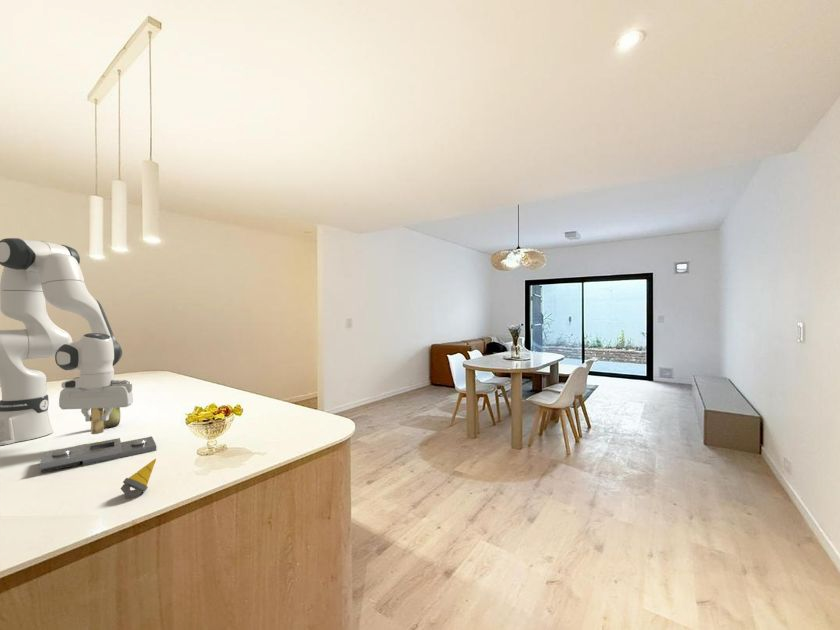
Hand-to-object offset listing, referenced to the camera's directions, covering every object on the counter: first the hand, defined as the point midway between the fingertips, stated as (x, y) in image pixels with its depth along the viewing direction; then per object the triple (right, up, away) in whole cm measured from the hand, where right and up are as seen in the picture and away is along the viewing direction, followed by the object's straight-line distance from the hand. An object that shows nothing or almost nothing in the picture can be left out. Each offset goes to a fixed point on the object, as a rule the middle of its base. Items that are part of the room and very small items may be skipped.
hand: (97, 420), depth 125 cm
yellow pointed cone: (+42, -7, -36) cm, 55 cm away
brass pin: (0, -4, 0) cm, 4 cm away
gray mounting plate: (+13, -7, -12) cm, 19 cm away
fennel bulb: (-10, -8, +18) cm, 22 cm away
